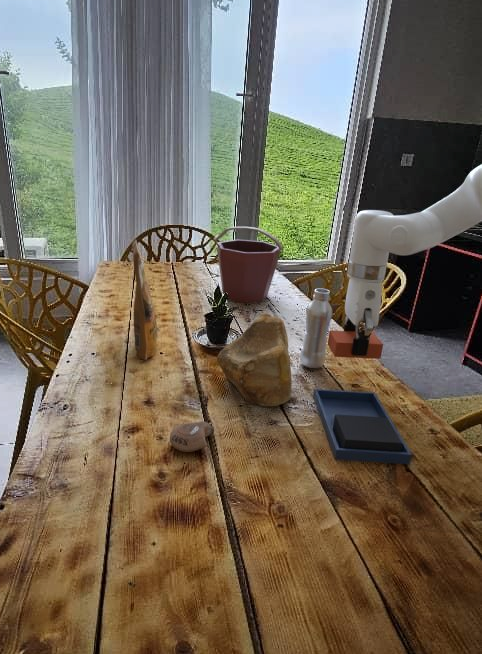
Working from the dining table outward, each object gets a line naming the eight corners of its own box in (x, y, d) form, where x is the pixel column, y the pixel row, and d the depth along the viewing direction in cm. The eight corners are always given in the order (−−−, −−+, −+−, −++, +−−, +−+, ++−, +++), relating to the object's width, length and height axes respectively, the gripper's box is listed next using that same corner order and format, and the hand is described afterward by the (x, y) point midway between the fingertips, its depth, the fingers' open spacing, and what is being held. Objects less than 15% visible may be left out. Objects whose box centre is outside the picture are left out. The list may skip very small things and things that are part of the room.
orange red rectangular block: (370, 346, 103) (373, 332, 102) (380, 359, 97) (383, 344, 96) (327, 344, 104) (329, 330, 103) (334, 356, 97) (336, 342, 96)
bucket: (200, 295, 163) (203, 226, 154) (231, 282, 180) (236, 219, 171) (259, 310, 150) (266, 236, 141) (287, 295, 167) (295, 228, 158)
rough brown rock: (219, 362, 115) (217, 308, 109) (284, 362, 113) (286, 307, 107) (214, 415, 94) (211, 352, 88) (293, 416, 92) (296, 351, 86)
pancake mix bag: (127, 363, 111) (124, 252, 100) (135, 333, 128) (133, 236, 118) (154, 363, 111) (154, 253, 101) (158, 333, 129) (158, 237, 118)
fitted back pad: (383, 432, 87) (387, 417, 85) (398, 459, 79) (402, 443, 78) (332, 429, 87) (335, 414, 86) (342, 455, 80) (345, 439, 78)
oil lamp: (219, 459, 80) (210, 432, 87) (223, 440, 78) (214, 415, 85) (170, 457, 78) (165, 430, 85) (173, 438, 76) (168, 412, 83)
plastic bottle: (299, 369, 111) (309, 293, 104) (298, 358, 117) (307, 285, 110) (325, 372, 110) (337, 296, 103) (323, 360, 116) (334, 287, 109)
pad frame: (372, 402, 98) (374, 392, 97) (409, 466, 78) (412, 454, 78) (312, 398, 99) (314, 388, 98) (334, 461, 79) (336, 449, 78)
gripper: (399, 282, 85) (383, 365, 92) (371, 262, 102) (359, 333, 108) (360, 281, 86) (346, 364, 92) (338, 260, 102) (328, 332, 108)
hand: (353, 347), depth 100 cm, fingers closed on orange red rectangular block, 7 cm apart
